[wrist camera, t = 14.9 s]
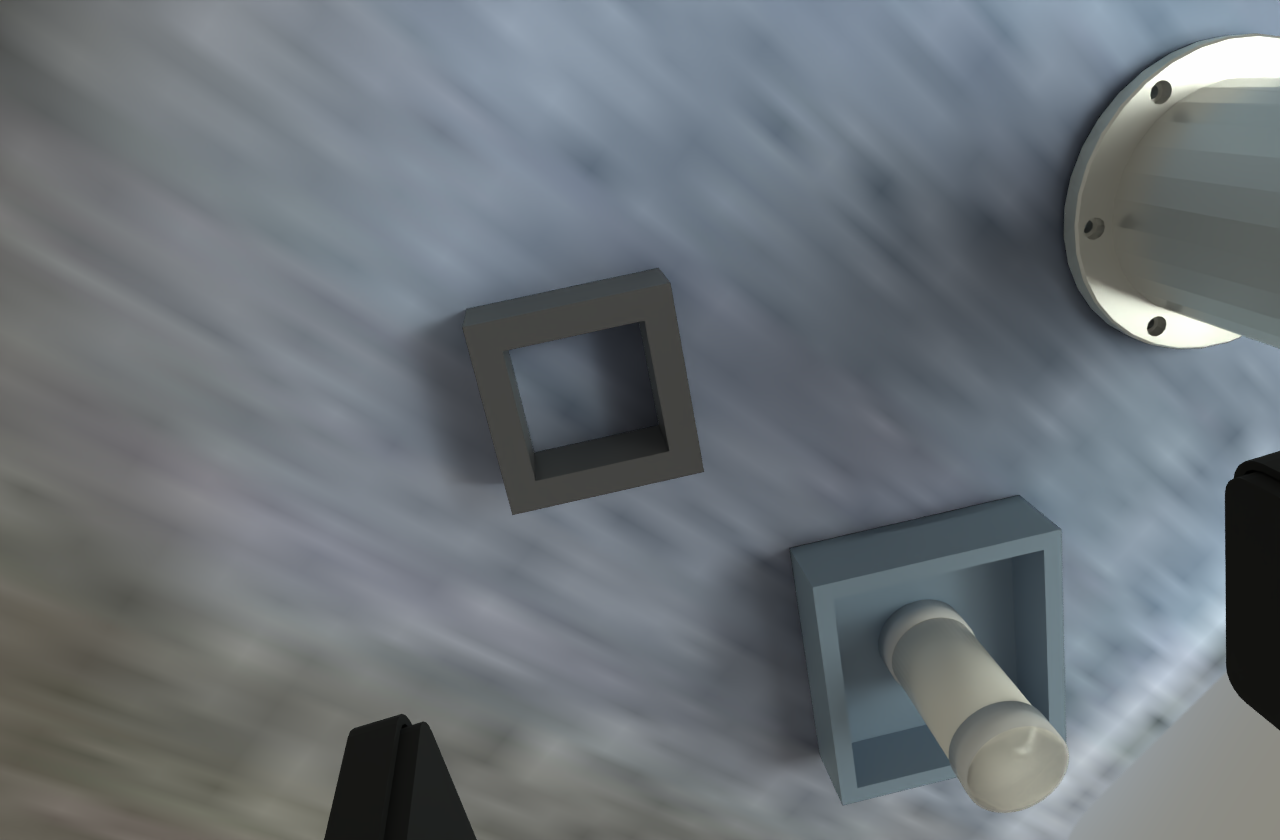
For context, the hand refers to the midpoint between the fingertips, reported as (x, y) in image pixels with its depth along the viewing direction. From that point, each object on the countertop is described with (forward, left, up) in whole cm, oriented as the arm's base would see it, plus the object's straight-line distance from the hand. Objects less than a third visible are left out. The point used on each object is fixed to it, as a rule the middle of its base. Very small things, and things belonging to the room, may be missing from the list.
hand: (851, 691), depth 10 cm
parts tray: (-11, +21, -28) cm, 36 cm away
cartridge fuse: (-11, +21, -27) cm, 36 cm away
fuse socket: (+2, +5, -28) cm, 28 cm away
